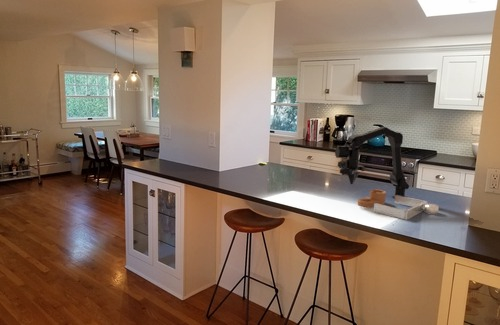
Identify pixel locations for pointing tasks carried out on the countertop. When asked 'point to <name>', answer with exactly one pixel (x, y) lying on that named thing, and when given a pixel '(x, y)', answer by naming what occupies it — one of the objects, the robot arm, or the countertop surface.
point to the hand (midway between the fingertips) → (351, 184)
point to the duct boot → (415, 209)
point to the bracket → (373, 199)
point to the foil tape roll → (431, 209)
